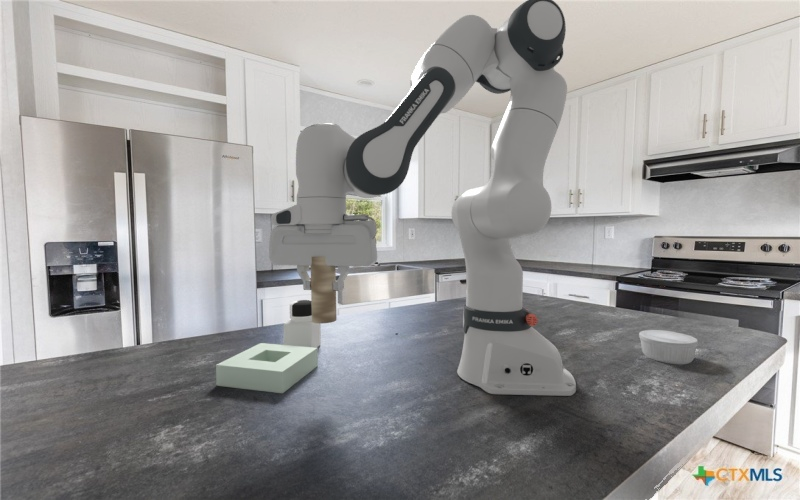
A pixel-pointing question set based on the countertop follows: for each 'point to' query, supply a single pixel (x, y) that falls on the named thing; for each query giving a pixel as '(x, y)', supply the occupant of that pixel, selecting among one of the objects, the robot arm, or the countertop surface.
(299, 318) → the medicine bottle
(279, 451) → the countertop surface
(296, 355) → the socket block
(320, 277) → the maple peg
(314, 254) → the robot arm
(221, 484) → the countertop surface
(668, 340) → the ramekin
